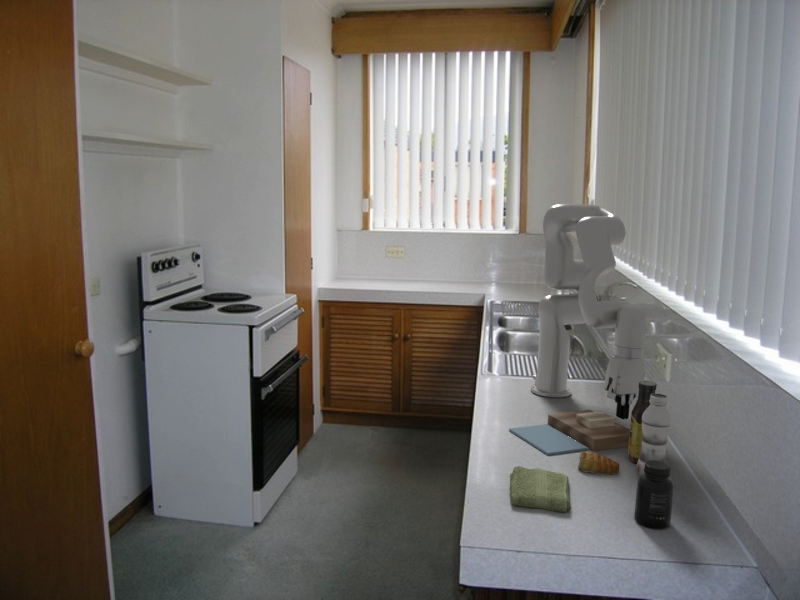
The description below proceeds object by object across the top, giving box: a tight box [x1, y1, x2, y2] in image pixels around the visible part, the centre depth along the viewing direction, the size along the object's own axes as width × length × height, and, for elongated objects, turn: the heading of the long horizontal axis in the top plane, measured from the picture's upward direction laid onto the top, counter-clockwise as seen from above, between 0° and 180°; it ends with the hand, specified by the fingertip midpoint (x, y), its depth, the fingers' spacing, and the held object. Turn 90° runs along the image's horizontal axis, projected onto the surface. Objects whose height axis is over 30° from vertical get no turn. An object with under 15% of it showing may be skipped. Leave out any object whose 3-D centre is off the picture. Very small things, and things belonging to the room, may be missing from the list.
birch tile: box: [576, 410, 616, 428], centre depth 189 cm, size 6×8×2 cm
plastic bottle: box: [635, 392, 673, 478], centre depth 159 cm, size 6×7×20 cm
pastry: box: [577, 451, 621, 475], centre depth 166 cm, size 9×7×4 cm
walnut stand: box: [547, 409, 630, 452], centre depth 189 cm, size 20×14×3 cm
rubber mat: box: [508, 423, 589, 456], centre depth 184 cm, size 18×12×1 cm, turn 23°
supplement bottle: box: [633, 460, 675, 530], centre depth 140 cm, size 7×7×12 cm
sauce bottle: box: [627, 380, 658, 464], centre depth 170 cm, size 7×6×20 cm
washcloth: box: [509, 465, 572, 513], centre depth 152 cm, size 13×18×3 cm
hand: (622, 417), depth 193 cm, fingers closed
